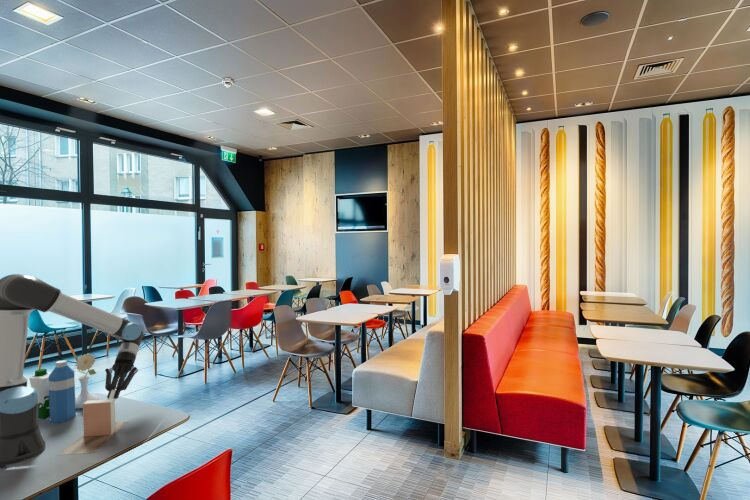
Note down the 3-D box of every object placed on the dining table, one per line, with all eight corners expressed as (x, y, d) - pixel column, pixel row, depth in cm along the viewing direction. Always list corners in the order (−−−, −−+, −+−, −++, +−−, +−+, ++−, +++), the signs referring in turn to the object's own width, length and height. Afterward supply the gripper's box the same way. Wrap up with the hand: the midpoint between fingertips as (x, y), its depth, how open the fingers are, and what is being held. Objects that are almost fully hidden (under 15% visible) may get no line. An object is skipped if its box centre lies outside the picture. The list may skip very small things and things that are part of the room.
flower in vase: (63, 409, 184) (61, 355, 184) (87, 399, 195) (86, 348, 194) (83, 412, 180) (82, 357, 180) (107, 403, 191) (106, 350, 190)
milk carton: (47, 410, 184) (46, 366, 183) (64, 411, 182) (62, 367, 181) (27, 418, 175) (26, 373, 174) (44, 420, 173) (43, 374, 173)
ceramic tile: (88, 433, 159) (87, 400, 159) (115, 431, 161) (114, 398, 160) (83, 437, 156) (82, 404, 156) (111, 434, 157) (110, 402, 157)
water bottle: (80, 417, 176) (78, 360, 175) (54, 425, 168) (52, 366, 167) (71, 412, 181) (69, 357, 180) (45, 420, 173) (43, 362, 172)
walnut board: (58, 457, 143) (58, 455, 143) (98, 425, 168) (98, 423, 168) (94, 454, 144) (94, 452, 144) (128, 423, 169) (128, 421, 169)
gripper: (145, 358, 186) (129, 408, 170) (114, 359, 184) (96, 411, 168) (139, 350, 181) (123, 401, 164) (108, 351, 179) (88, 403, 162)
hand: (109, 406), depth 166 cm, fingers closed
